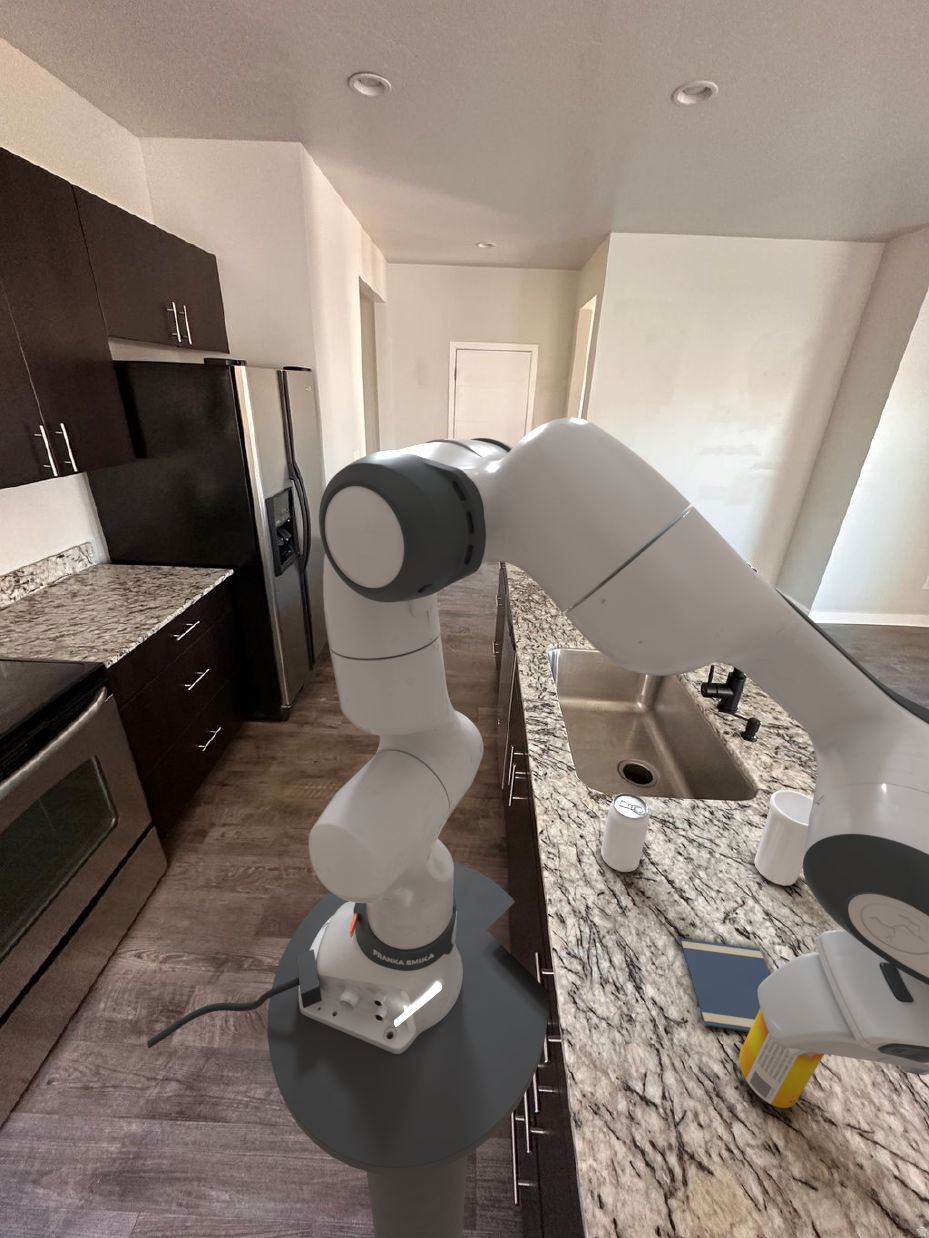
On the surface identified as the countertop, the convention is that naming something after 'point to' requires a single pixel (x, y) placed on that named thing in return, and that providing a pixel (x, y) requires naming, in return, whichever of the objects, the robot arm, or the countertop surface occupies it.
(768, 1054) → the beer can
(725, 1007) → the blue striped coaster
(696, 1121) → the countertop surface
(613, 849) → the can
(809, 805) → the cup
